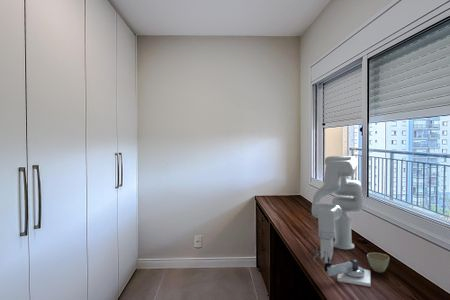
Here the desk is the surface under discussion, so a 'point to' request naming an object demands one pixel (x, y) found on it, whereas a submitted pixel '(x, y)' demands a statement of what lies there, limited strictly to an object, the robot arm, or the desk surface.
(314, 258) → the pliers
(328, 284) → the desk surface
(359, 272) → the dial
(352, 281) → the dial plate
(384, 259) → the flower pot
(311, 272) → the desk surface
